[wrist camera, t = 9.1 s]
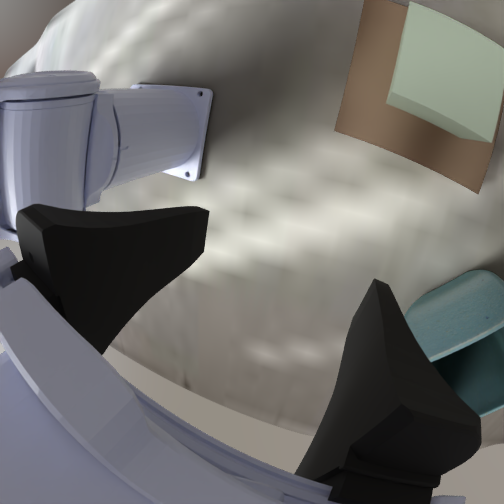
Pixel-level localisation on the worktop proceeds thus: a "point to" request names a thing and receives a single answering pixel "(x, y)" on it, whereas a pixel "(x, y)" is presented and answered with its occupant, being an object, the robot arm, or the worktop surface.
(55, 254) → the robot arm
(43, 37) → the worktop surface
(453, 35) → the cube
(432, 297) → the flower pot
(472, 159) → the base slab
